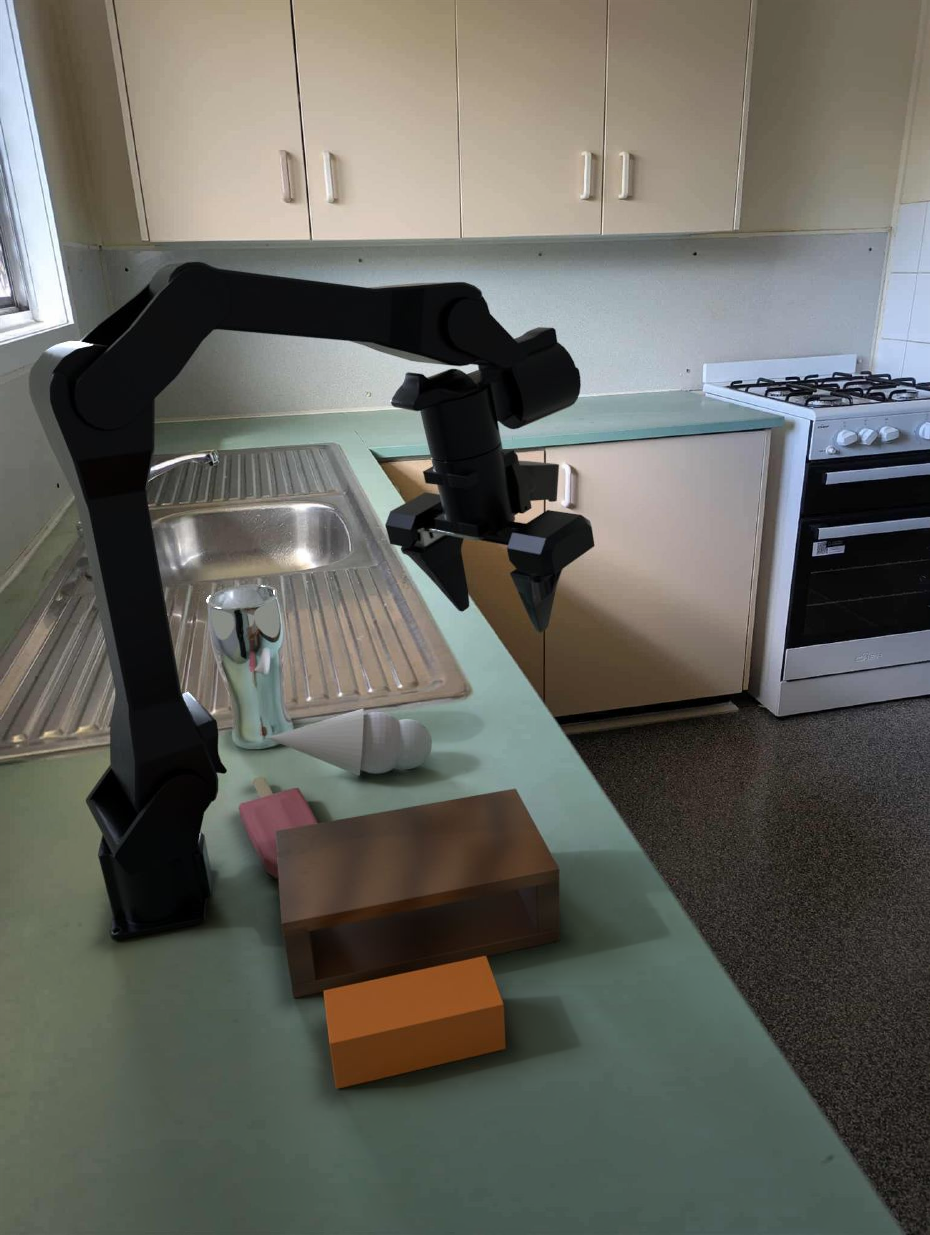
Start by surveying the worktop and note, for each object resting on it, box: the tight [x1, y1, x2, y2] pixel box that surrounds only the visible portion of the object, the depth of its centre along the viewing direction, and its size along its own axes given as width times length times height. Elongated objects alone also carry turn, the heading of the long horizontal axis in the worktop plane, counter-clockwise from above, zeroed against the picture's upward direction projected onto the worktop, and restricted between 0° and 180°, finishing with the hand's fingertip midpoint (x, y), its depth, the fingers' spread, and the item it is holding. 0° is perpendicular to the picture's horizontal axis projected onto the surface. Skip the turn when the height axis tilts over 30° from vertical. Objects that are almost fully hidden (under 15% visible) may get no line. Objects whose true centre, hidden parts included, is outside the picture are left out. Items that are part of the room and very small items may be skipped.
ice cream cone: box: [267, 708, 433, 776], centre depth 80 cm, size 6×6×15 cm
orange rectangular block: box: [323, 956, 507, 1090], centre depth 52 cm, size 10×4×4 cm, turn 103°
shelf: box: [275, 788, 561, 999], centre depth 61 cm, size 18×10×6 cm, turn 104°
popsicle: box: [238, 776, 319, 880], centre depth 73 cm, size 5×2×15 cm
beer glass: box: [206, 583, 295, 750], centre depth 86 cm, size 7×7×15 cm
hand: (501, 619), depth 76 cm, fingers open, 9 cm apart
